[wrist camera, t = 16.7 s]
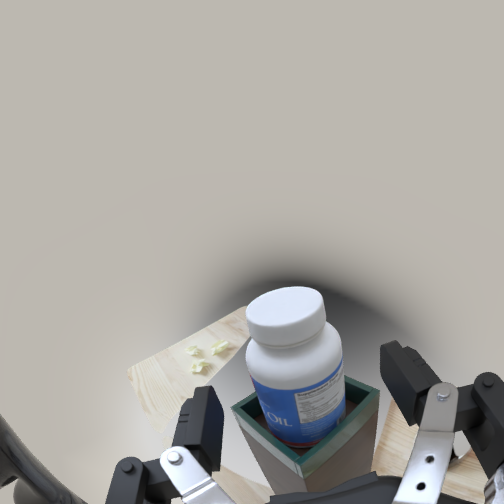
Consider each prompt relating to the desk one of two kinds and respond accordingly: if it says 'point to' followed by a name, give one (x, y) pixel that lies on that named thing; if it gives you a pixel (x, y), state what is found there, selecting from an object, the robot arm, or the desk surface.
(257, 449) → the stand
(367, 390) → the socket
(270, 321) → the pill bottle
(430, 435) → the robot arm
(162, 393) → the desk surface
